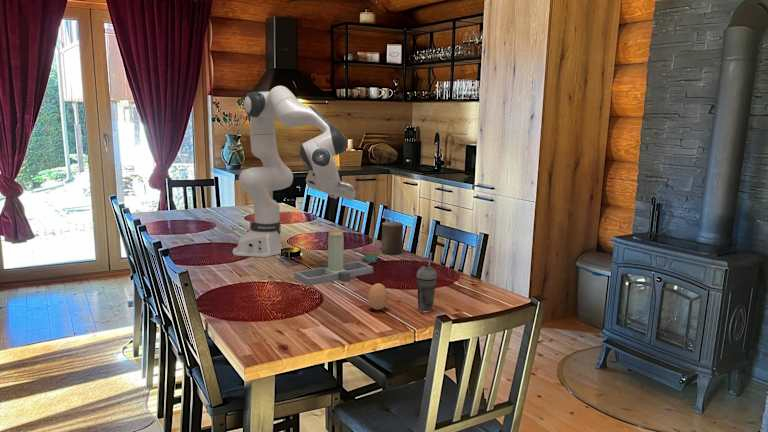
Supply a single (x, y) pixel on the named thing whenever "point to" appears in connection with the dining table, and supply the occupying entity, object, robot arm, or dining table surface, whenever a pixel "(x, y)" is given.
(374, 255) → the cupcake
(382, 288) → the egg
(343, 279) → the grey divided tray
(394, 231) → the pillar candle
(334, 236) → the sage green tall block
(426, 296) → the beverage cup
